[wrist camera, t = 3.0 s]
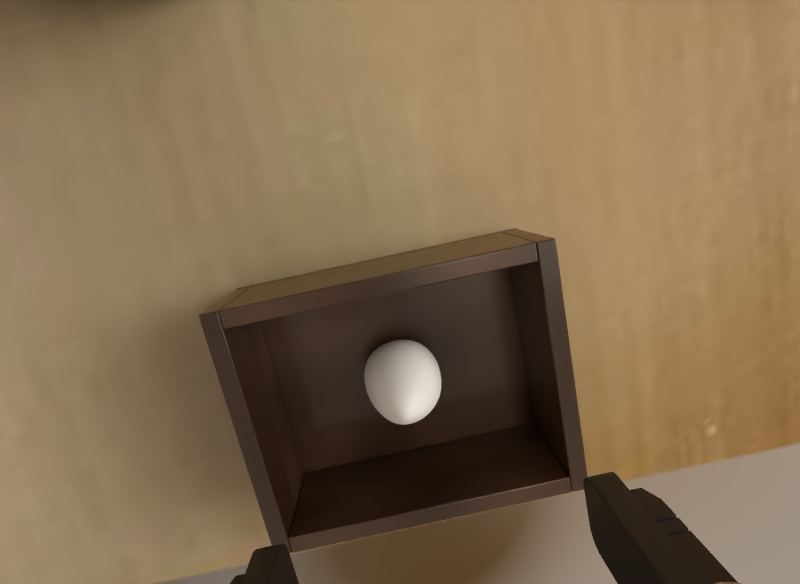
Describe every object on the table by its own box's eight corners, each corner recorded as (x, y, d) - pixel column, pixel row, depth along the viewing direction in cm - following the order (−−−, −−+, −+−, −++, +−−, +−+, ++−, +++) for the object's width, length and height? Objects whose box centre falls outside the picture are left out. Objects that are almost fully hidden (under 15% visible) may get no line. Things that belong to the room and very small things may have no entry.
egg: (443, 387, 25) (461, 440, 19) (376, 405, 25) (375, 464, 19) (425, 322, 24) (439, 360, 19) (356, 341, 24) (350, 384, 19)
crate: (295, 483, 26) (274, 557, 21) (238, 288, 23) (197, 315, 18) (546, 429, 26) (589, 488, 21) (515, 228, 23) (555, 238, 18)
